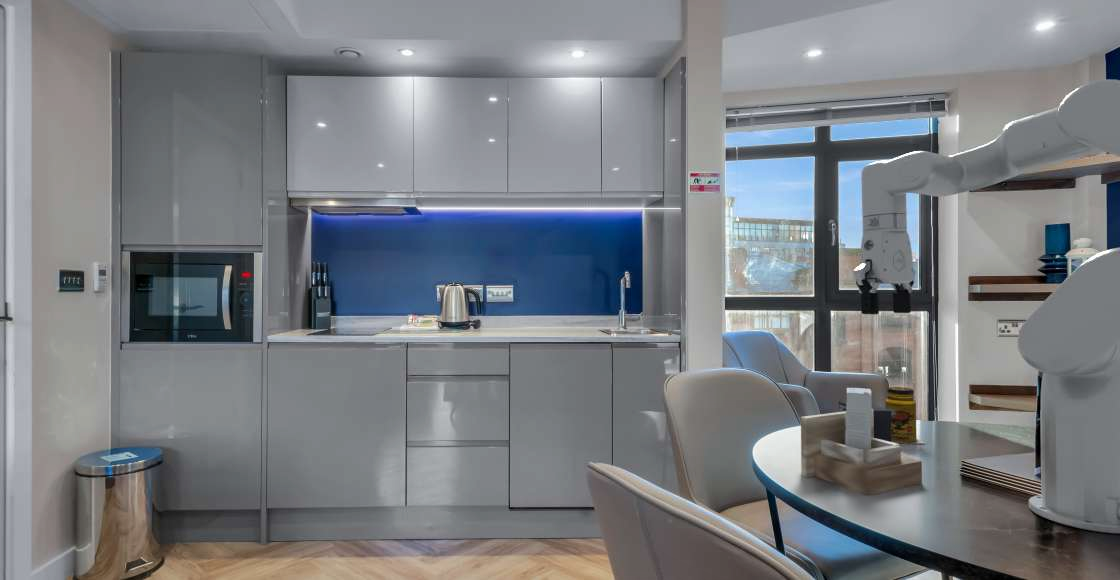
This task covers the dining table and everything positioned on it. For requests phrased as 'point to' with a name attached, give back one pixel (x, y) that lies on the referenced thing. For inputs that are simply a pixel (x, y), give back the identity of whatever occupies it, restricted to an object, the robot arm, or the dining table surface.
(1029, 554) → the dining table surface
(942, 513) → the dining table surface
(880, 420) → the small box
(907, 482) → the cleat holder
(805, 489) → the dining table surface
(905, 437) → the condiment
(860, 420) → the skincare box
